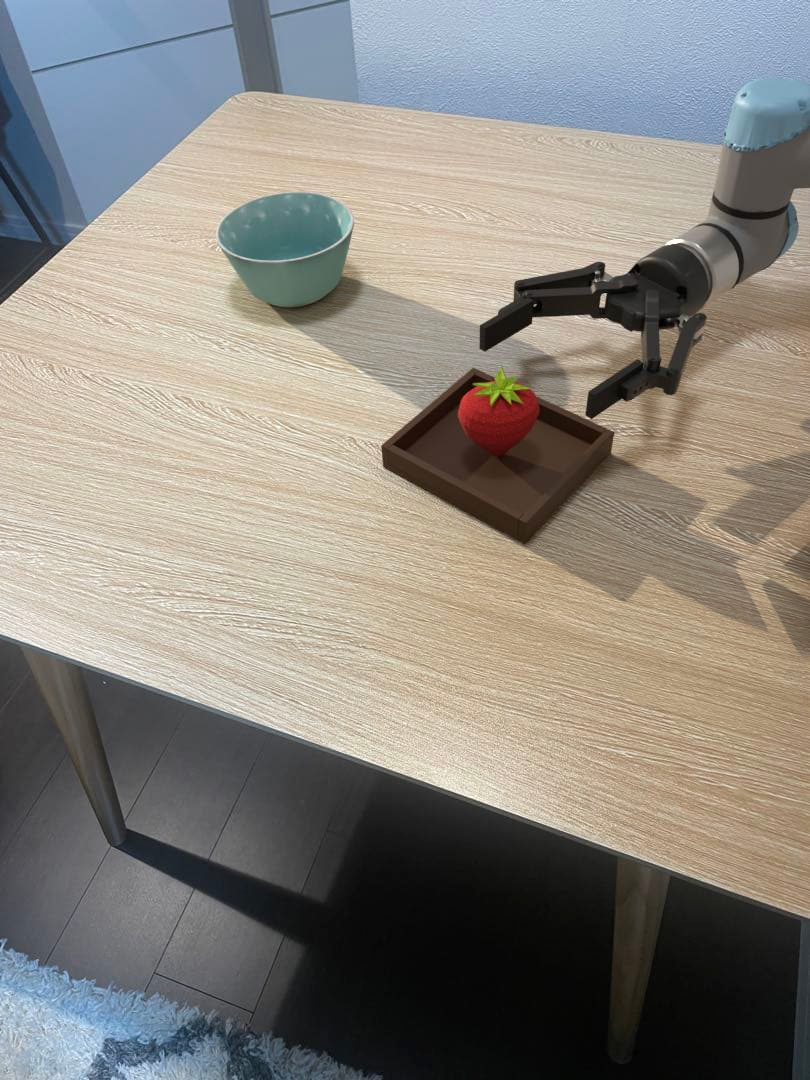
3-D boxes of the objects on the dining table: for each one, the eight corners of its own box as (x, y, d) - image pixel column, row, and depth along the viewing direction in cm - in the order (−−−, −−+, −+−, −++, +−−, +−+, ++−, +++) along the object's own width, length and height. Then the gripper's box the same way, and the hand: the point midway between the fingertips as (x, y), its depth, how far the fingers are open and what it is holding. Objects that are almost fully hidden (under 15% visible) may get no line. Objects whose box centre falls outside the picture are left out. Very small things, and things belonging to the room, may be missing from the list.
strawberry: (452, 439, 90) (451, 356, 82) (527, 427, 90) (533, 344, 83) (464, 480, 86) (464, 397, 78) (543, 468, 86) (550, 385, 79)
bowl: (204, 287, 111) (189, 224, 105) (307, 237, 117) (299, 176, 111) (279, 343, 103) (267, 278, 96) (386, 286, 109) (381, 223, 103)
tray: (611, 453, 88) (614, 431, 86) (524, 544, 81) (526, 523, 79) (473, 388, 96) (473, 367, 94) (382, 466, 89) (380, 445, 86)
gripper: (778, 363, 89) (634, 468, 80) (584, 263, 102) (443, 345, 93) (799, 296, 83) (647, 402, 74) (591, 200, 96) (441, 280, 88)
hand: (533, 370), depth 84 cm, fingers open, 13 cm apart
